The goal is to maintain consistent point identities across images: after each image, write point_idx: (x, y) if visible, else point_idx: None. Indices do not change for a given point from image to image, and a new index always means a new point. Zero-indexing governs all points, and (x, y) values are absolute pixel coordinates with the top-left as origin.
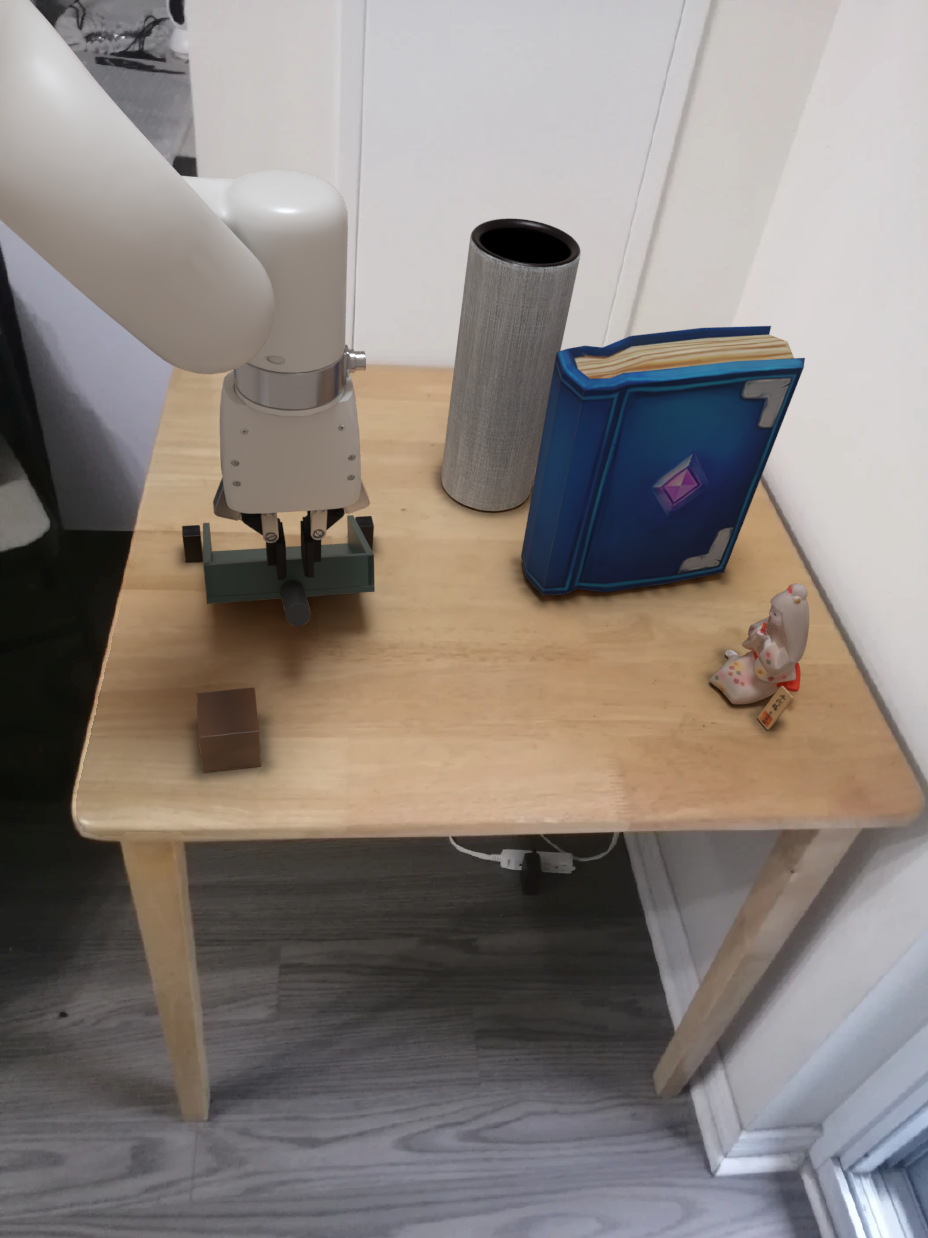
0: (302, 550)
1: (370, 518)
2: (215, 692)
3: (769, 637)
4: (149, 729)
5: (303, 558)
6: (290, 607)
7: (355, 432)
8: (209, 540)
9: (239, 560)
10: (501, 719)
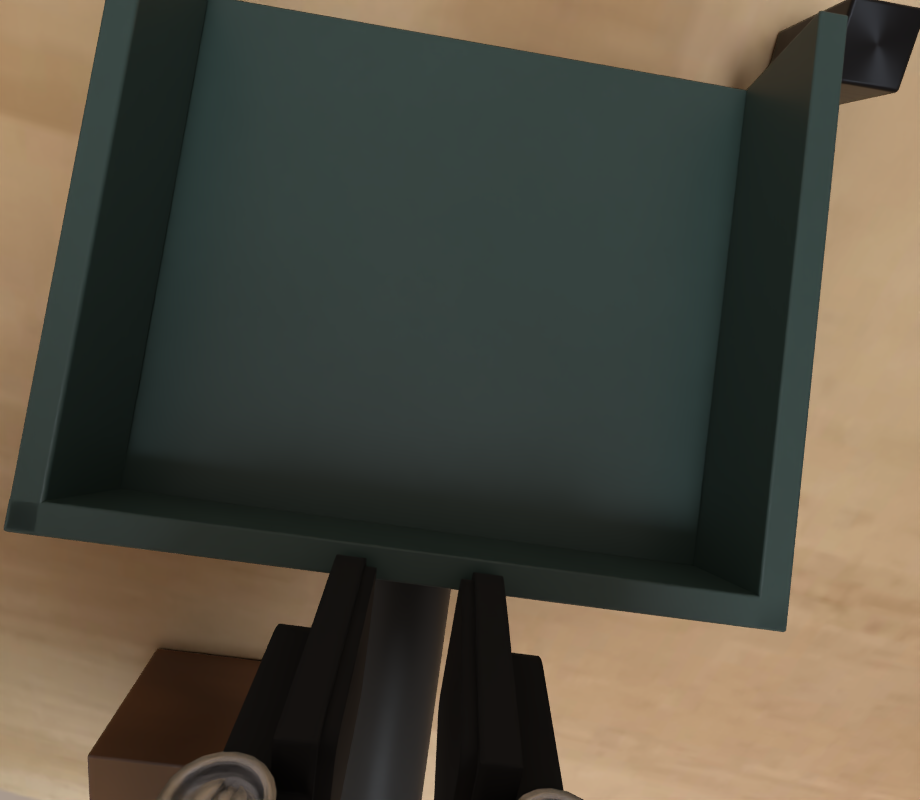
0: (449, 700)
1: (912, 32)
2: (136, 767)
3: None
4: (42, 622)
5: (444, 715)
6: None
7: None
8: (103, 169)
9: (292, 143)
10: (806, 775)
